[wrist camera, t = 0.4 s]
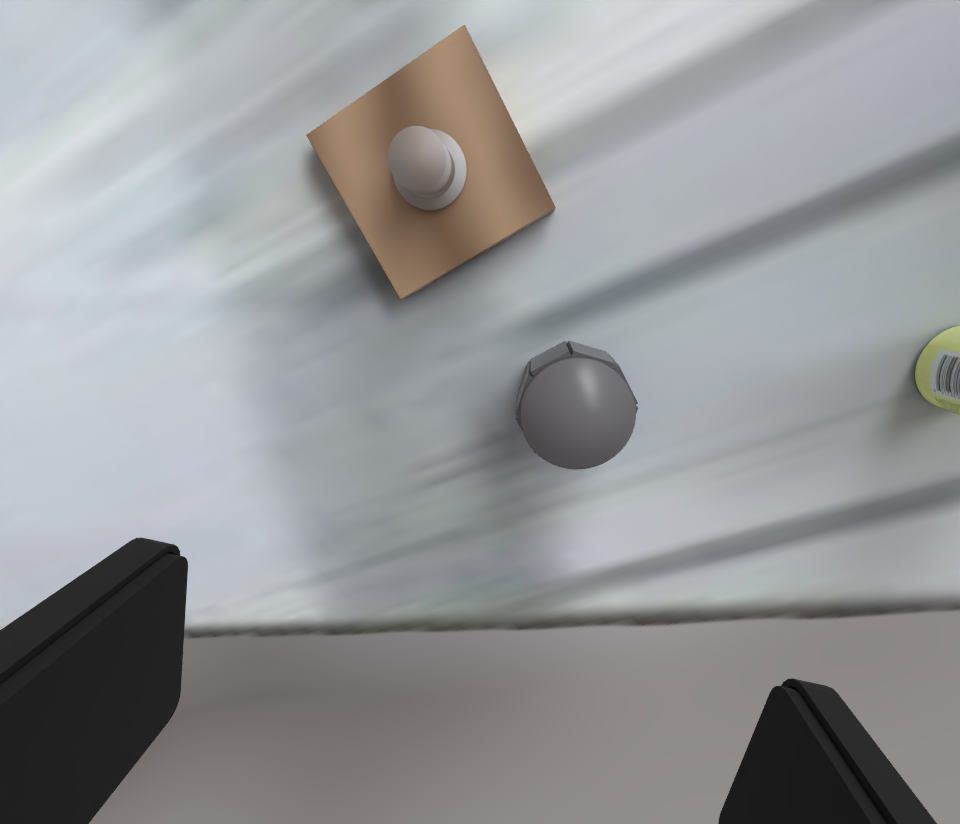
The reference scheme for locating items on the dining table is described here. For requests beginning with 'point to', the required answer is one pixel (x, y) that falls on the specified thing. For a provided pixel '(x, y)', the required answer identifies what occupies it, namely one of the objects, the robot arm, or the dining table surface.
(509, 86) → the dining table surface
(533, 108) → the dining table surface
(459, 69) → the stud block
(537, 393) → the cap
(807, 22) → the dining table surface
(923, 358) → the tube
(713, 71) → the dining table surface
